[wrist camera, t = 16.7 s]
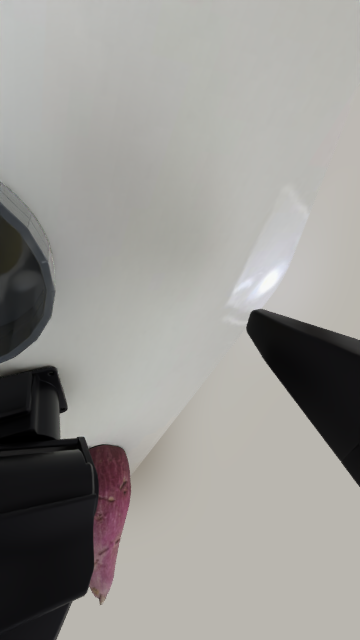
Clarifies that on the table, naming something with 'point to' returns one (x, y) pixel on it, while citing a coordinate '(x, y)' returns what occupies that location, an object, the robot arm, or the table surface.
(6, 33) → the table surface
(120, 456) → the vegetable
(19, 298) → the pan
